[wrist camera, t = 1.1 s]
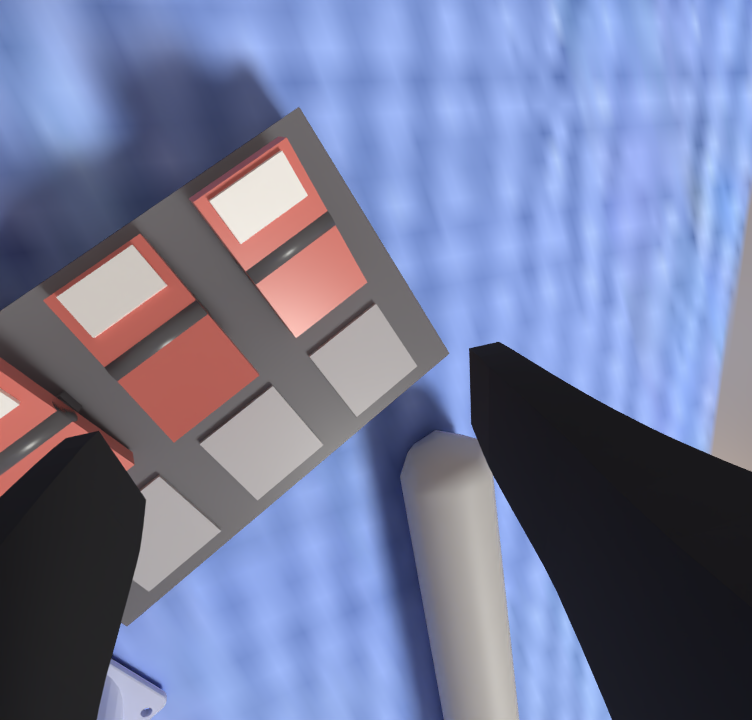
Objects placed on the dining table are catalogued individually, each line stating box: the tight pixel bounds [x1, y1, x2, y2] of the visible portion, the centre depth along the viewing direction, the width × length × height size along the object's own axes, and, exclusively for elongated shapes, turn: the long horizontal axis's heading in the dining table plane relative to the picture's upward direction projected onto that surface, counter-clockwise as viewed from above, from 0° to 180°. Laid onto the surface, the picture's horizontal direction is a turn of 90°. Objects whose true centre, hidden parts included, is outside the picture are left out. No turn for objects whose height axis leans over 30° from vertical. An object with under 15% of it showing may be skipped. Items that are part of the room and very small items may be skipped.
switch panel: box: [0, 107, 449, 626], centre depth 19 cm, size 18×12×3 cm, turn 124°
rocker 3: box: [189, 137, 367, 338], centre depth 16 cm, size 4×6×1 cm, turn 34°
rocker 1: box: [0, 357, 135, 497], centre depth 15 cm, size 4×6×1 cm, turn 34°
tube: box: [400, 430, 519, 720], centre depth 27 cm, size 5×5×25 cm
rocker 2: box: [43, 234, 259, 442], centre depth 15 cm, size 4×6×1 cm, turn 34°
